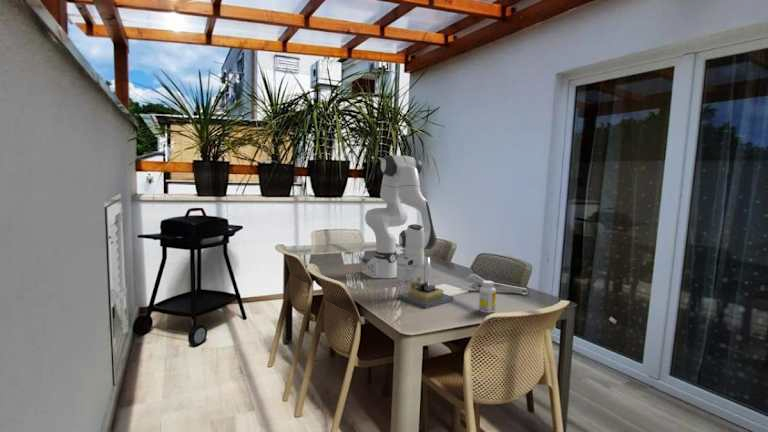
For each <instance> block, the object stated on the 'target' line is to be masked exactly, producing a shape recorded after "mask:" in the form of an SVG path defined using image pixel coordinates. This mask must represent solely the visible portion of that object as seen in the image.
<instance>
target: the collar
mask: <svg viewBox="0 0 768 432" xmlns="http://www.w3.org/2000/svg"><path fill="white" fill-rule="evenodd" d="M411 283H412V284H413V288H409V287H407V288H408V289H407V291H408V292H409V295H411V296H414V297H417V298H420V299H423V300H426V301H427V300H430V299H434V298H438V297H442V296H443V290H441V289H438V288H435V291H431V292H427V293H426V292H422V291H419V290H417V289H418V284H421V282H418V281H417V280H416V279H412V282H411Z"/></svg>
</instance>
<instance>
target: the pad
mask: <svg viewBox="0 0 768 432" xmlns="http://www.w3.org/2000/svg"><path fill="white" fill-rule="evenodd" d="M434 286H435V288H438V289H441V290H443V294H446V295H449V296H453V297H455V296H459V295H463V294H467V293H469V290H467V289H464V288H460V287H457V286H453V285H450V284H447V283H442V284H438V285H434Z"/></svg>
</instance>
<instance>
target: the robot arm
mask: <svg viewBox="0 0 768 432" xmlns="http://www.w3.org/2000/svg"><path fill="white" fill-rule="evenodd" d="M422 168H423V163H422V161H421V159H420V158H418V157H416V156H409V155H392V154H391V155H390V154H389V155H385V156H383V158H382V159H381V161H380V172H381V173H382V175H383V177H382V180H381V187H380V193H379V196H380V198H381V200H382V201H384V202H385V203H386V207H375V208H372V209H369V210H367V211H366V213H365V217H364V221H365V224H366V225H367V226H368V227H369V228H370V229H371V230H372V231H373V233H374V235H375V251H374V252H373V254H374V255H373V257H372V258H371V259H370V260H368V261H367V262H366V266H365V269H363V270H362V271H361V273H362V274H364V275H365V276H368V277H370V278H371V279H393V278H396V279H397V281H399V282H407V286H408V287H409V288H413V284H412V283H411V282H412V280H416V279H417V280H416V281H418V282H420V283H422V279H423V278H424V257H425V251H424V250H429V251H430V250H432V249H433V248H435V246H436V245H437V236H436V232H435V229H434V225H433V219H432V214H431V210H430V206H429V201H428V200H427V198H426V197H424V195H423V194H422V192H421V191H422V190H421V181H420V176H419V175H420V174H421V173H422ZM401 202H402V203H403V204H404V205H406V206H408V207H411V208H414V209H416V210H417V211H418V212H419V214H420V215H421V220H422V225H420V224H415V223H413V224H409V225H407V228H406V229H403V230H402V231H401V232H400V233H399V235H398V237H399V239H398V240H399V242H398V244H399V246H400V247H401V248H403V249H405V250H406V251H405V254H404V255H402V256H401V257H399V258H398V259H396V258H397V254H398V253H397V249H396V248H397V246H396V245H397V244H396V243H397V239H396V236H395V235H393V234H392V233H390V232H389V228H390V227H392V228H394V227H395V228H396V227H400V226H404V225H405V224H406V223H407V222H408V221H407V220H408V213H407V211H406V209H405V208H404V207H403V206H402V203H401ZM431 275H432V263H431V262H430V264H429V277H430V276H431ZM408 287H407V288H408Z"/></svg>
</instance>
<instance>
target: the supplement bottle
mask: <svg viewBox="0 0 768 432" xmlns="http://www.w3.org/2000/svg"><path fill="white" fill-rule="evenodd" d="M494 283H495V282H494V281H492V280H486V281H483V282H482V284H483V287H481V288H480V291H479V300H478V301H479V304H478V306H479V307H478V309H479V311H480V312H482V313H487V314H491V313H492V314H493V313H494V312H495V311H496V294H497V291H496V290H497V289H495V288H494V287H493V285H494Z"/></svg>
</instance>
